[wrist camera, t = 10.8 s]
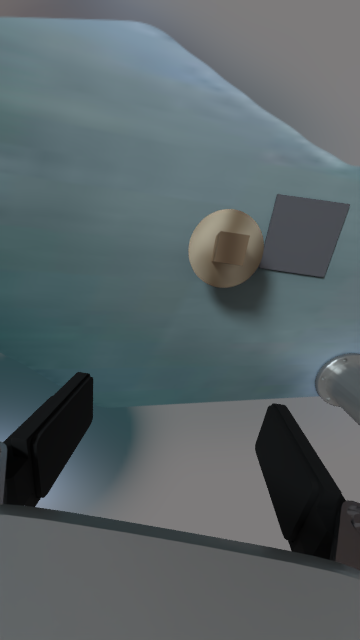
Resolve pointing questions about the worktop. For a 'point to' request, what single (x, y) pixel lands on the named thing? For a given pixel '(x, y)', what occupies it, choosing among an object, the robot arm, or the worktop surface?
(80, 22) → the worktop surface
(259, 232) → the lid
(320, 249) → the mat
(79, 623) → the robot arm
